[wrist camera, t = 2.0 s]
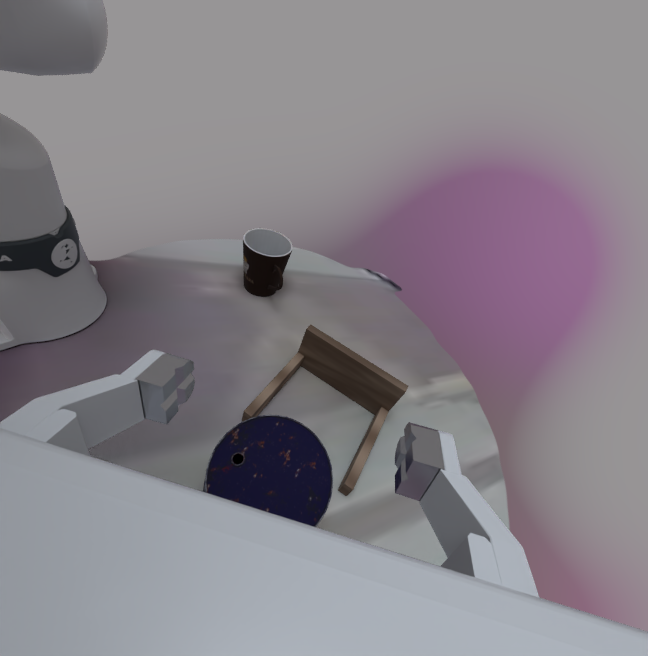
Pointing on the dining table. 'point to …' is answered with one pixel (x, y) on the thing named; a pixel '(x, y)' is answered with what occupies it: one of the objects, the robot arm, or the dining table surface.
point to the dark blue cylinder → (273, 469)
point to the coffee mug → (264, 260)
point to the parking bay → (340, 388)
